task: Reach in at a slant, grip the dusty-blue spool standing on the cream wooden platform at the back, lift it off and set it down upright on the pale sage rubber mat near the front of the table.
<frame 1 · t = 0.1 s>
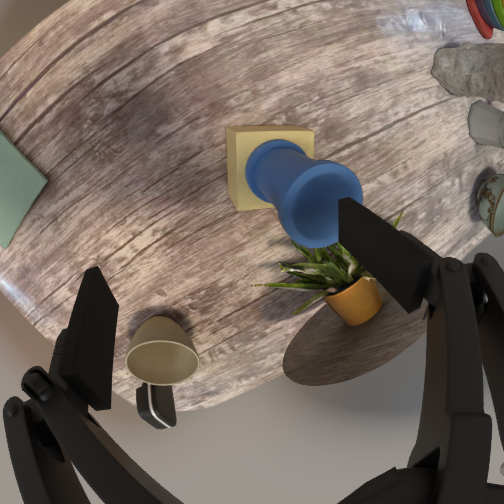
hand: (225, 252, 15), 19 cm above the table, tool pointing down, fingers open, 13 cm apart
bowl: (481, 192, 46), on the table
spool: (276, 170, 28), point 5 cm above the table, touching platform
potted plant: (322, 253, 41), on the table
beige round container: (160, 327, 40), on the table
platform: (261, 159, 32), on the table
coffee maker: (478, 116, 36), on the table
battery charger: (152, 365, 44), on the table
decorative stone: (449, 69, 30), on the table
stacking bear: (477, 10, 24), on the table
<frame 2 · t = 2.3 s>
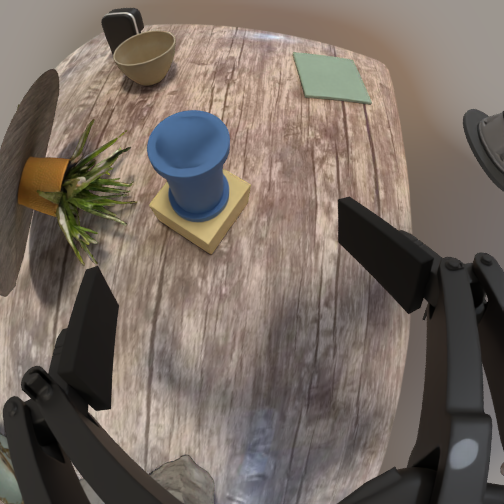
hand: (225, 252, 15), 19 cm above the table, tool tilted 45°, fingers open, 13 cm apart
bowl: (18, 457, 24), on the table
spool: (199, 194, 30), point 5 cm above the table, touching platform
potted plant: (81, 215, 34), on the table
beige round container: (151, 76, 40), on the table
platform: (203, 210, 35), on the table
coffee maker: (109, 502, 24), on the table
battery charger: (132, 55, 41), on the table
decorative stone: (182, 487, 27), on the table
mat: (330, 77, 42), on the table
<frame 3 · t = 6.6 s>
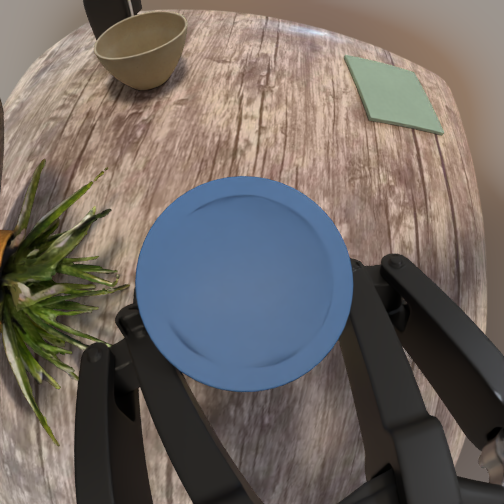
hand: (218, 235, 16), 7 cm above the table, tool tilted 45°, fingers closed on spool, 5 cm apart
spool: (236, 301, 18), point 5 cm above the table, touching gripper, platform
potted plant: (51, 295, 21), on the table
beige round container: (150, 77, 28), on the table
battery charger: (125, 48, 29), on the table
mat: (394, 93, 30), on the table
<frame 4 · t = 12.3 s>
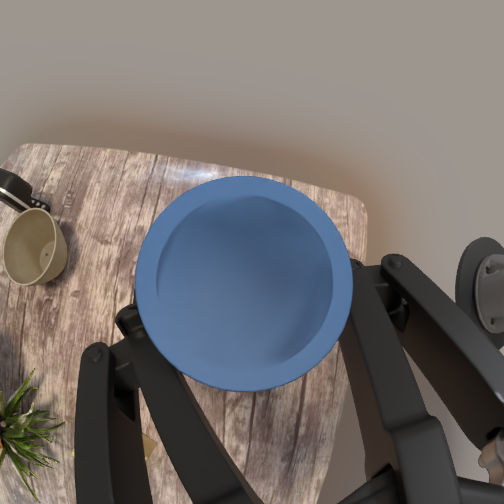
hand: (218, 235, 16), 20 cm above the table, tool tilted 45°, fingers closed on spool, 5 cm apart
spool: (236, 301, 18), point 18 cm above the table, touching gripper
potted plant: (27, 416, 28), on the table
beige round container: (55, 258, 34), on the table
battery charger: (38, 209, 36), on the table
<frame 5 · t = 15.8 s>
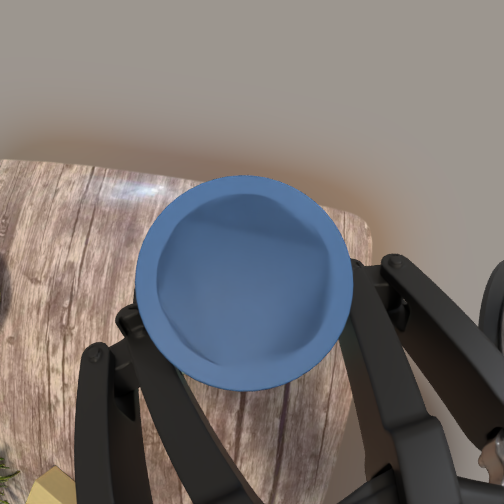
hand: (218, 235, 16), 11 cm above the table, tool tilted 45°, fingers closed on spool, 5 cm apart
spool: (236, 301, 18), point 9 cm above the table, touching gripper
platform: (72, 500, 18), on the table
when the fingers open (3 cm above the table, at t = 18.3 s): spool stays where it is, resting on mat.
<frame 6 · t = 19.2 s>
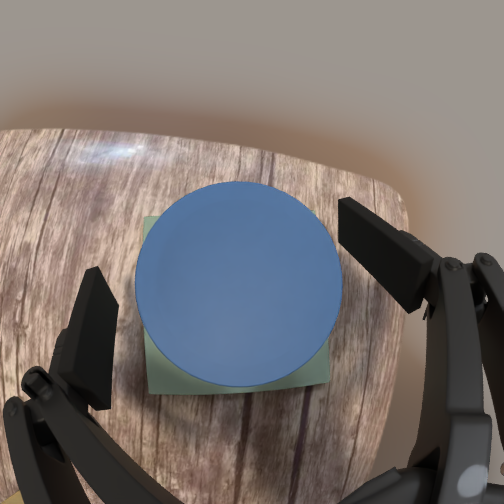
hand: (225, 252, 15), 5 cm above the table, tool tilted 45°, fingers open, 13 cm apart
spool: (232, 301, 18), point 1 cm above the table, touching mat
mat: (234, 302, 19), on the table
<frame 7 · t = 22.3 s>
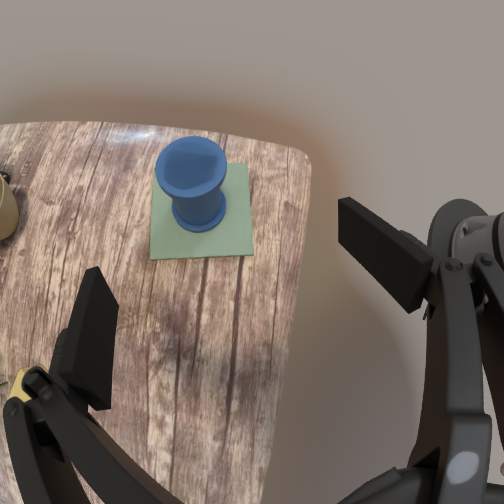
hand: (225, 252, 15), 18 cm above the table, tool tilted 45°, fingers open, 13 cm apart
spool: (199, 207, 34), point 1 cm above the table, touching mat
beige round container: (9, 221, 32), on the table
platform: (51, 405, 26), on the table
battery charger: (1, 180, 33), on the table
mat: (200, 209, 34), on the table
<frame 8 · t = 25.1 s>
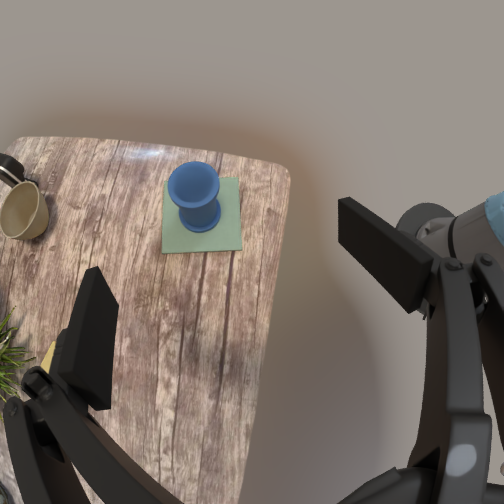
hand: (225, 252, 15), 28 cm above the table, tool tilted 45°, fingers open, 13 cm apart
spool: (200, 213, 43), point 1 cm above the table, touching mat
potted plant: (7, 356, 35), on the table
beige round container: (39, 222, 41), on the table
battery charger: (29, 187, 43), on the table
mat: (201, 214, 44), on the table
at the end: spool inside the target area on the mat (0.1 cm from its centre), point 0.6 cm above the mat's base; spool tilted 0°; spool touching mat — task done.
